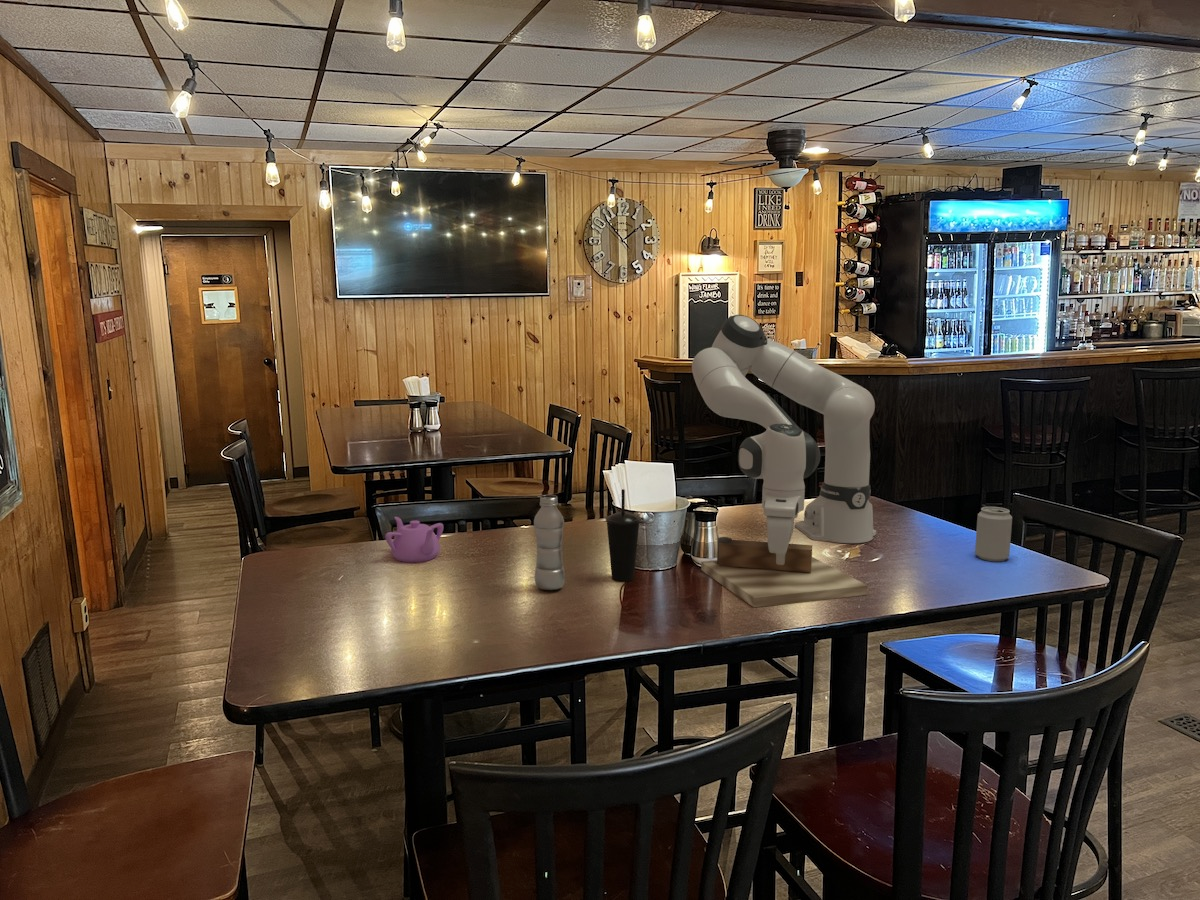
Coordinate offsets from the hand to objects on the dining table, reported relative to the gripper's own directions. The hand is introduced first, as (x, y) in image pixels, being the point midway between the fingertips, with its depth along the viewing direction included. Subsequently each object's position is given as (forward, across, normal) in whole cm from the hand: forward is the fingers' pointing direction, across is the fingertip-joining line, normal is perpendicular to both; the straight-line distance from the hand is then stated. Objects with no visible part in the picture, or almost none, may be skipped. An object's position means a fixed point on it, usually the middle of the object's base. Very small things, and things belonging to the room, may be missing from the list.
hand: (780, 563), depth 188 cm
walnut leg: (+2, -4, -4) cm, 6 cm away
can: (+4, -34, +47) cm, 58 cm away
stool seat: (+4, -1, 0) cm, 4 cm away
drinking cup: (+5, +7, -34) cm, 34 cm away
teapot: (+5, +4, -86) cm, 86 cm away
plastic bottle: (+5, +18, -46) cm, 50 cm away
